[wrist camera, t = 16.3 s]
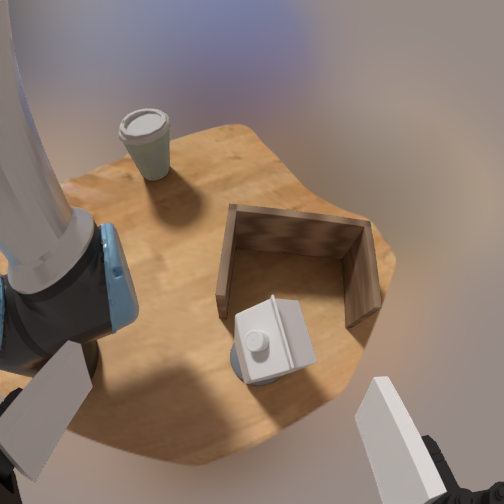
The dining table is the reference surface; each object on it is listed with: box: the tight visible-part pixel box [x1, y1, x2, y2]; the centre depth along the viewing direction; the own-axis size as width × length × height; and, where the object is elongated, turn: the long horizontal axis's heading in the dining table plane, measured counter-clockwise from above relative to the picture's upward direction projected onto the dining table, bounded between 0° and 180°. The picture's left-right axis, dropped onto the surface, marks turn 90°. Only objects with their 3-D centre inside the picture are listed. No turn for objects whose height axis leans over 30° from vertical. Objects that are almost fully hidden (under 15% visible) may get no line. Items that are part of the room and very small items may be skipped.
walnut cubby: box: [215, 204, 382, 328], centre depth 43 cm, size 22×14×11 cm, turn 85°
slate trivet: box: [230, 343, 281, 385], centre depth 41 cm, size 9×9×1 cm
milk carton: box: [234, 295, 317, 384], centre depth 32 cm, size 7×7×19 cm
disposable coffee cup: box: [119, 108, 170, 181], centre depth 52 cm, size 11×11×15 cm
